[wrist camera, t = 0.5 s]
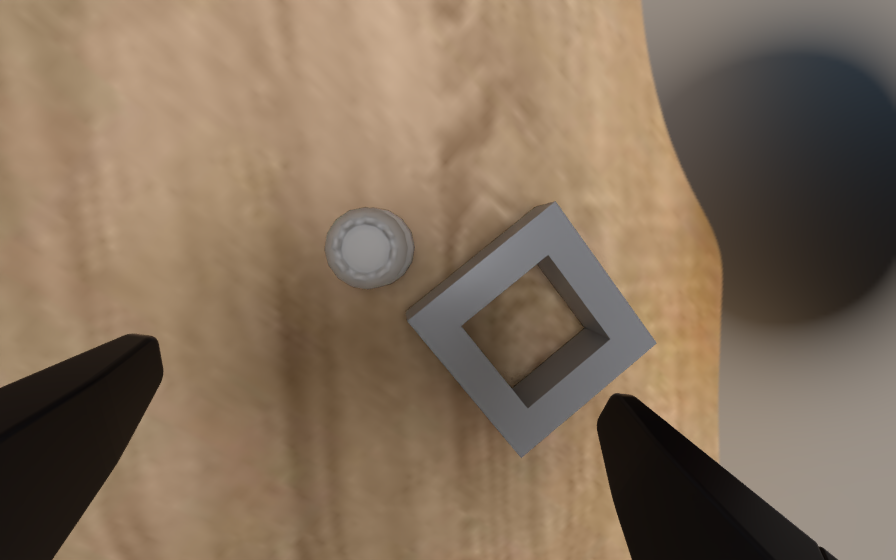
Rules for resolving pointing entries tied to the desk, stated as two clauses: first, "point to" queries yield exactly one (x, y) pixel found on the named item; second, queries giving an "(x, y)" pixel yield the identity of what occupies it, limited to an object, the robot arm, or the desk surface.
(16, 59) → the desk surface
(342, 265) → the rook chess piece
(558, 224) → the hollow square block
